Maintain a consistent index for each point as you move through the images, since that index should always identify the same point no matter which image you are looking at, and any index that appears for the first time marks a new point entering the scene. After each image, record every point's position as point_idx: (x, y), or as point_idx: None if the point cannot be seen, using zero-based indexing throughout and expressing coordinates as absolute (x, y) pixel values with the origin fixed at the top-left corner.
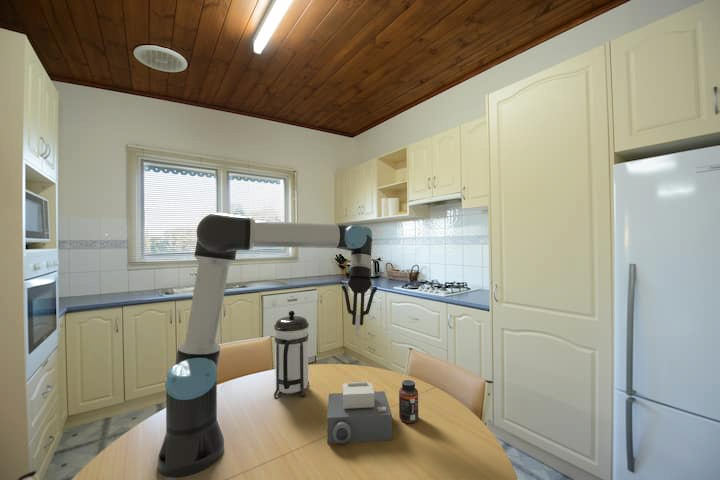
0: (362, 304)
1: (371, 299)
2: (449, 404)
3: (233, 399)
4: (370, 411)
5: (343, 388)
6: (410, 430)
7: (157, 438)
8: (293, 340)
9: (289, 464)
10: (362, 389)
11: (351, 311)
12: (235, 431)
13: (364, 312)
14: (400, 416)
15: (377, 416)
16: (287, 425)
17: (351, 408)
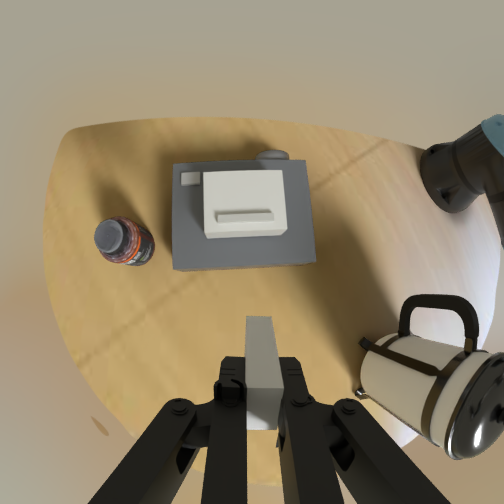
0: (224, 466)
1: (107, 494)
2: (59, 295)
3: (457, 319)
4: None
5: (283, 201)
6: (143, 209)
7: (483, 219)
8: (463, 357)
9: (338, 142)
10: (232, 192)
11: (327, 417)
12: (429, 224)
13: (206, 415)
14: (152, 239)
15: (203, 162)
16: (369, 235)
17: None
